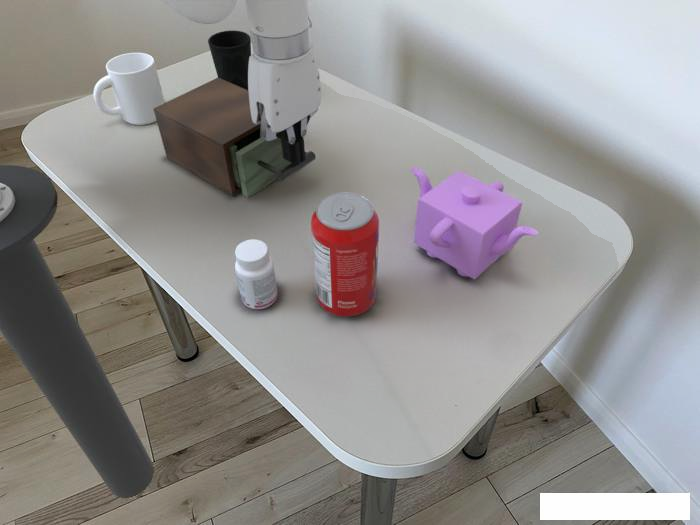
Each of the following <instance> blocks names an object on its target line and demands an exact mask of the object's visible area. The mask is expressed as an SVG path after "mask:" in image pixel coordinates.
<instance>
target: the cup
mask: <svg viewBox="0 0 700 525" xmlns="http://www.w3.org/2000/svg"><path fill="white" fill-rule="evenodd" d="M207 43H208V47H209V51H210V54H211V58H212V61H213V65H214V69H215V72H216V75H217V78H221V79H223V80H225V81H227V82H230V83H232V84H234V85H236V86H239V87H241V88H243V89H245V90H248V65H249V57H250V56H251V55H252V39H251V35H249V33H246V32H244V31H241V30H224V31H220V32H216V33H214V34H212V35H210V36H209V37H208V39H207Z"/></svg>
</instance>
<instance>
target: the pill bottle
mask: <svg viewBox="0 0 700 525" xmlns="http://www.w3.org/2000/svg"><path fill="white" fill-rule="evenodd" d="M234 255H235V260H236V261H235V263H234V271H235V275H236V280H237V284H238V289H239V290H238V291H239V295H240V298H241V299H240V300H241V301H242V303H243V304H244V306H246V307H247V308H249V309H253V310H262V309H266V308H269V307H270V306H272V305H273V304H274V303H275V302H276V301H277V298H278V293H279V292H278V286H277V279H276V272H275V265H274V261H273V257H272V256H271V255H270V252H269V248H268V245H267V244H266V243H265V242H264V241H262V240H261V239H246V240H244V241H242V242H240V243H239V244H237V246H236V248H235V251H234Z"/></svg>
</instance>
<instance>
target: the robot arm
mask: <svg viewBox="0 0 700 525" xmlns="http://www.w3.org/2000/svg"><path fill="white" fill-rule="evenodd" d="M161 1H162V2H163V3H164V4H165V5H167V6H168V7H169V8H170V9H172V10H173V11H174V12H176V13H177V14H179V16H182V17H183V18H185V19H187V20H189V21H191V22H194V23H197V24H202V25H213V24H216V23H220V22H222V21H224V20H226V19H227V17H229V16H230V15H231V13H232V12H233V10H235V7H236V6H237V2H238V0H161ZM245 5H246V11H247V20H248V25H249V31H250V38H251V47H252V53H253V54H251V56H250V57H249V65H248V91H249V102H250V111H251V117H252V121H253V123H254V124H261V132H260V137H261V138H262V139H264V140H266V141H271V140H275V139H276V138H279V139H281V145H282V152H283V158H284V159H285V160H287V161H289V162H291V163H293V164H295V165H299V164H301V162H304V161H305V160H306V158H305V152H306V150H305V149H306V148H305V137H306V135H307V133H308V124H309V122H310V120H311V118H312V117H314V116H315V114H316V113H317V112H318V111H319V108H320V107H321V104H322V86H321V85H322V84H321V76H320V70H319V63H318V59H317V54H316V51H315V47H314V44H313V43H312V40H311V28H312V26H313V22H312V21H311V19H310V13H309V2H308V0H245ZM284 130H285V131H284ZM14 205H15V196H14V194H13V192H12V190H11V189H10V188H9V187H8V186H6V185H5V184H2V183H0V222H1V221H2V220H3V219H4V218H6V217H7V216H8V214H9V213H10V212H11V211H12V209H13V207H14Z"/></svg>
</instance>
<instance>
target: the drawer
mask: <svg viewBox="0 0 700 525" xmlns="http://www.w3.org/2000/svg"><path fill="white" fill-rule="evenodd" d="M284 131H285V130H284ZM260 132H261V128H259V129H258V130H256V131H254V132H253V133H251V134H249V135H247V136H246V137H244V138H242V139H240V140H239V141H237V142H235V143H233V144H232V145H230V146H228V152H229V157H230V163H231V168H232V174H233V179H234V185H236V186H238V187H239V188H241V187H242V191H241V192H242V193H241V194H242V196H245V197H246V198H249V197H251V196H253V195H254V194H256V193H258V192H259V191H261V190H262V189H263V188H265V187H267V186H268V185H269V184H271V183H272V182H274V181H276V180H277V179H279V180H280V181H281V182H282V181H286V179H288V178H289V177H291V176H292V175H294V174H296V173H297V172H298V171H300V170H301V169H303V168H305V167H306V166H308V165H309V164H310V163H312V162H313V161H315V160H316V157H317V156H316V153H315V152H314V151H312V150H309V151H305V158H306V160H305V161H304V162H301V164H299V165H295V164H293V163H291V162H289V161H287V160H285V159H284V158H283V152H282V145H281V139H279V138H276V139H275V140H271V141H266V140H264V139H262V138H261V137H260Z"/></svg>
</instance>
